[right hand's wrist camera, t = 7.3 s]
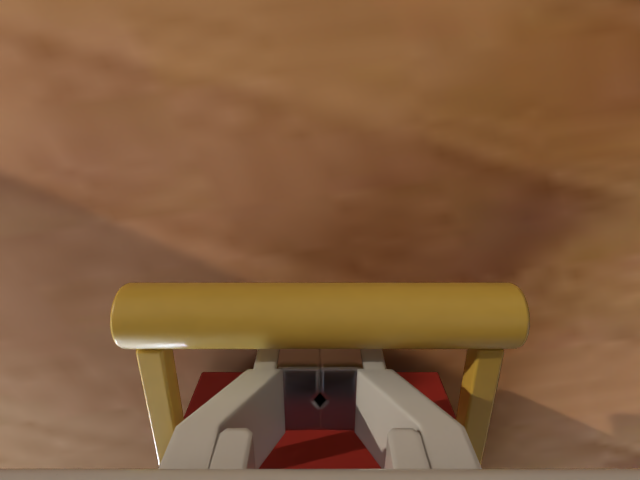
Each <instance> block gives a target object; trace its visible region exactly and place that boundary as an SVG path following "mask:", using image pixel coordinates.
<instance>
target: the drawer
mask: <svg viewBox="0 0 640 480" xmlns="http://www.w3.org/2000/svg"><path fill="white" fill-rule="evenodd" d="M529 327H530V316H529V309H528V304H527V301H526V298H525V296H524V294H523V292H522V291H521V289H520V288H519V287H518V286H516V285H515V284H512V283H128V284H125V285H124V286H122V287H121V288H120V289H119V291H118V292H117V294H116V296H115V298H114V301H113V304H112V308H111V315H110V328H111V334H112V337H113V340H114V342H115V343H116V345H117V346H119V347H121V348H123V349H137V350H136V356H137V361H138V366H139V371H140V375H141V380H142V385H143V390H144V395H145V400H146V405H147V410H148V415H149V419H150V424H151V429H152V434H153V439H154V444H155V449H156V454H157V459H158V463H159V465H160V463H161V461H162V458H163V456H164V453H165V451H166V449H167V446H168V444H169V442H170V439H171V437H172V435H173V432H174V430H175V428H176V426H177V425H178V424H179V423H181V422H182V421H183V420H185V419H186V418H187V417H188V416H190V415H191V414H192V413H193V412H195V411H196V410H197V409H198V408H200V407H201V406H202V405H203V404H205V403H206V402H207V401H208V400H210V399H211V398H212V397H213V396H215V395H216V394H217V393H218V392H220V391H221V390H222V389H223V388H225V387H226V386H227V385H229V384H230V383H231V382H232V381H234V380H235V379H236V378H237V377H239V376H240V375H241V374H242V373H244V372H203V373H202V374H201V376H200V379H199V381H198V384H197V386H196V389H195V391H194V394H193V396H192V399H191V401H190V403H189V406H188V408H187V411H186V413H185V416H184V417H183V411H182V405H181V398H180V392H179V386H178V380H177V374H176V368H175V362H174V356H173V349H467V355H466V361H465V367H464V373H463V379H462V385H461V391H460V398H459V404H458V410H457V416H455V414H454V411H453V409H452V406H451V404H450V402H449V399H448V397H447V394H446V392H445V389H444V387H443V384H442V382H441V379H440V377H439V374H438V373H437V372H396V373H398V374H399V375H400V376H401V377H403V378H404V379H405V380H406V381H408V382H409V383H410V384H411V385H413V386H414V387H415V388H416V389H418V390H419V391H420V392H421V393H423V394H424V395H425V396H426V397H428V398H429V399H430V400H431V401H433V402H434V403H435V404H436V405H438V406H439V407H440V408H441V409H443V410H444V411H445V412H446V413H448V414H449V415H450V416H451V417H453V418H454V419H455V420H456V421H458V422H459V423H460V424H461V425H463V426H464V427H465V429H466V432H467V434H468V437H469V439H470V441H471V444H472V446H473V449H474V451H475V453H476V456H477V458H478V461H479V463H480V465H481V463H482V458H483V453H484V448H485V443H486V438H487V433H488V429H489V424H490V419H491V414H492V409H493V404H494V399H495V394H496V390H497V385H498V380H499V375H500V370H501V365H502V360H503V355H504V350H503V349H517V348H519V347H521V346H522V345H523V344H524V343H525V342H526V340H527V337H528V334H529ZM259 469H382V468H381V467H380V466H379V464H378V463H377V462H376V460H375V459H374V458H373V456H372V455H371V454H370V452H369V451H368V449H367V448H366V447H365V445H364V444H363V443H362V441H361V440H360V439H359V437H358V436H357V435H356V433H355V431H350V430H289V431H285V434H284V435H283V436H282V438H281V439H280V440H279V442H278V443H277V444H276V446H275V447H274V448H273V450H272V451H271V453H270V454H269V455H268V457H267V458H266V459H265V461H264V462H263V463H262V465H261V466H260V467H259Z"/></svg>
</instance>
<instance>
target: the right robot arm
mask: <svg viewBox="0 0 640 480" xmlns="http://www.w3.org/2000/svg"><path fill="white" fill-rule="evenodd" d="M289 430H350V431H355V433H356V435H357V436H358V437H359V439H360V440H361V441H362V443H363V444H364V445H365V447H366V448H367V449H368V451H369V452H370V454H371V455H372V456H373V458H374V459H375V460H376V462H377V463H378V464H379V466H380V467H381V468H382V469H259V467H260V466H261V465H262V463H263V462H264V461H265V459H266V458H267V457H268V455H269V454H270V453H271V451H272V450H273V448H274V447H275V446H276V444H277V443H278V442H279V440H280V439H281V438H282V436H283V435H284V434H285V431H289ZM0 480H640V469H482V468H481V465H480V463H479V461H478V458H477V456H476V453H475V451H474V449H473V446H472V444H471V441H470V439H469V437H468V434H467V432H466V429H465V427H464V426H463V425H461V424H460V423H459V422H458V421H456V420H455V419H454V418H453V417H451V416H450V415H449V414H448V413H446V412H445V411H444V410H443V409H441V408H440V407H439V406H438V405H436V404H435V403H434V402H433V401H431V400H430V399H429V398H428V397H426V396H425V395H424V394H423V393H421V392H420V391H419V390H418V389H416V388H415V387H414V386H413V385H411V384H410V383H409V382H408V381H406V380H405V379H404V378H403V377H401V376H400V375H399V374H398V373H396V372H395V371H394V370H393V369H387V368H386V364H385V360H384V356H383V351H382V349H258V351H257V355H256V360H255V364H254V368H253V369H247V370H246V371H245V372H244V373H242V374H241V375H240V376H239V377H237V378H236V379H235V380H234V381H232V382H231V383H230V384H229V385H227V386H226V387H225V388H223V389H222V390H221V391H220V392H218V393H217V394H216V395H215V396H213V397H212V398H211V399H210V400H208V401H207V402H206V403H205V404H203V405H202V406H201V407H200V408H198V409H197V410H196V411H195V412H193V413H192V414H191V415H190V416H188V417H187V418H186V419H185V420H183V421H182V422H181V423H179V424H178V425H177V426H176V428H175V430H174V432H173V435H172V437H171V439H170V442H169V444H168V446H167V449H166V451H165V453H164V456H163V458H162V461H161V463H160V465H159V468H158V469H0Z"/></svg>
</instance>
